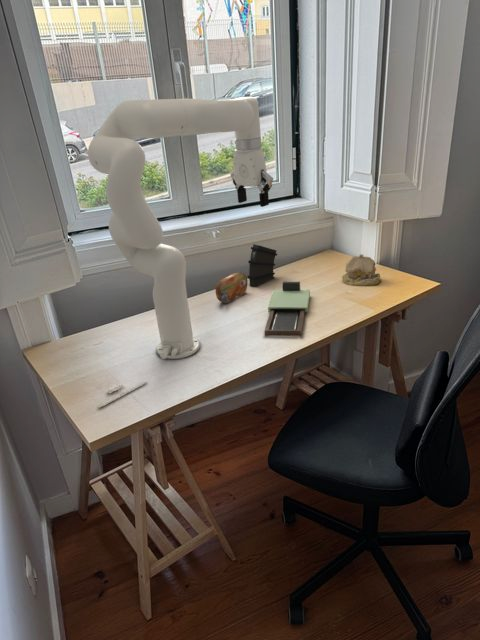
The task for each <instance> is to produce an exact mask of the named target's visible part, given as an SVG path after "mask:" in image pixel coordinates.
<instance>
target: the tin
mask: <svg viewBox="0 0 480 640" xmlns="http://www.w3.org/2000/svg"><path fill="white" fill-rule="evenodd" d="M247 289H248V277H247V276H246V274H245V273H243V272H234V273H231V274H230V275H228V276H226V277H224V278H222V279H220V280H219V281H218V282H217V284H216V286H215V297H216V299H217V301H219V302H221V303H225V304H229V303H231V302H233V301H234V300H236V299H237V297H242V296H243V295H245V293H246V291H247Z"/></svg>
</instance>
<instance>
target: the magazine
mask: <svg viewBox="0 0 480 640" xmlns="http://www.w3.org/2000/svg"><path fill="white" fill-rule="evenodd" d="M250 250H251V251H250V257H249V259H250V260H248V262H247V263H248V264H249V268H248V274H249V275H247V280H248V281H249V285H250V286H253V287H257V286H259V285H262V284H264V283H266V282H268V281H270V280H272V279H274V276H275V275H276V272H274V266H276V263H275V259H276V257H277V256H278V253H277V250H276V249H273V248H270V247H267V246H263V245H259V244H255V243H254V244H252V246H250Z"/></svg>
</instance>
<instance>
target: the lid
mask: <svg viewBox="0 0 480 640" xmlns="http://www.w3.org/2000/svg"><path fill="white" fill-rule="evenodd" d="M310 295H311V289H301V281H282V289H273V290H272V294H271V296H270V300H269V304H268V305H267V312H268V313H270V311H271V309H305V313H308V309H309V305H310V304H309V303H310Z"/></svg>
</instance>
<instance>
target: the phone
mask: <svg viewBox="0 0 480 640" xmlns="http://www.w3.org/2000/svg"><path fill="white" fill-rule="evenodd" d="M298 315H299V312H277V313H276V317H275V320H274V324H273V327H272V330H296V326H297V320H298Z"/></svg>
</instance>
